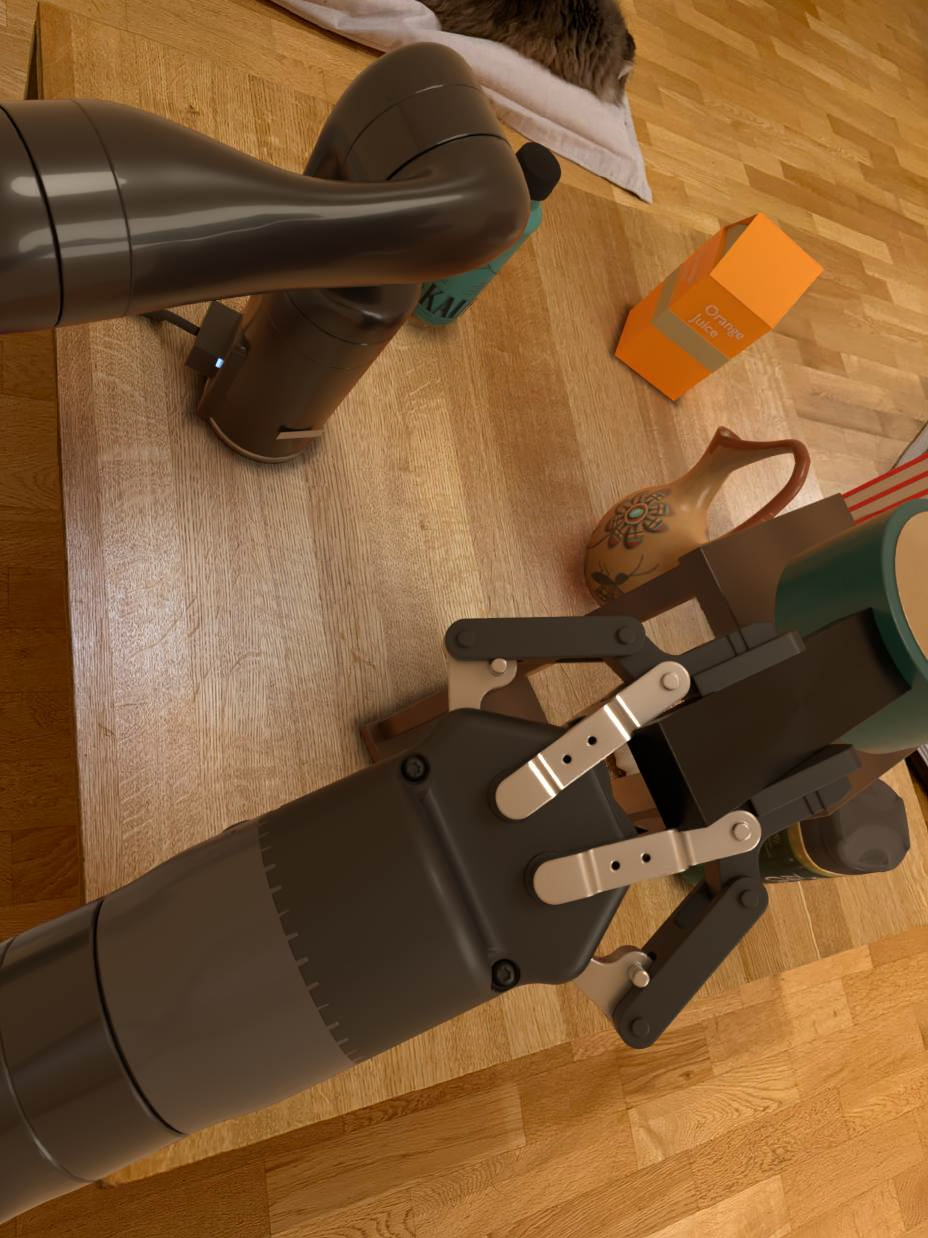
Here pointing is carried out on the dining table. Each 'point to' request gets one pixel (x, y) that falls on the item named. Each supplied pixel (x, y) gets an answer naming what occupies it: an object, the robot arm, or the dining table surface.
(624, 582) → the ceramic vessel
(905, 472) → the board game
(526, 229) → the beverage bottle
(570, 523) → the dining table surface
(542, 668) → the shelf stand
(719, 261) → the orange juice
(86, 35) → the dining table surface
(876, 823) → the coffee jar
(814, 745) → the milk pan
